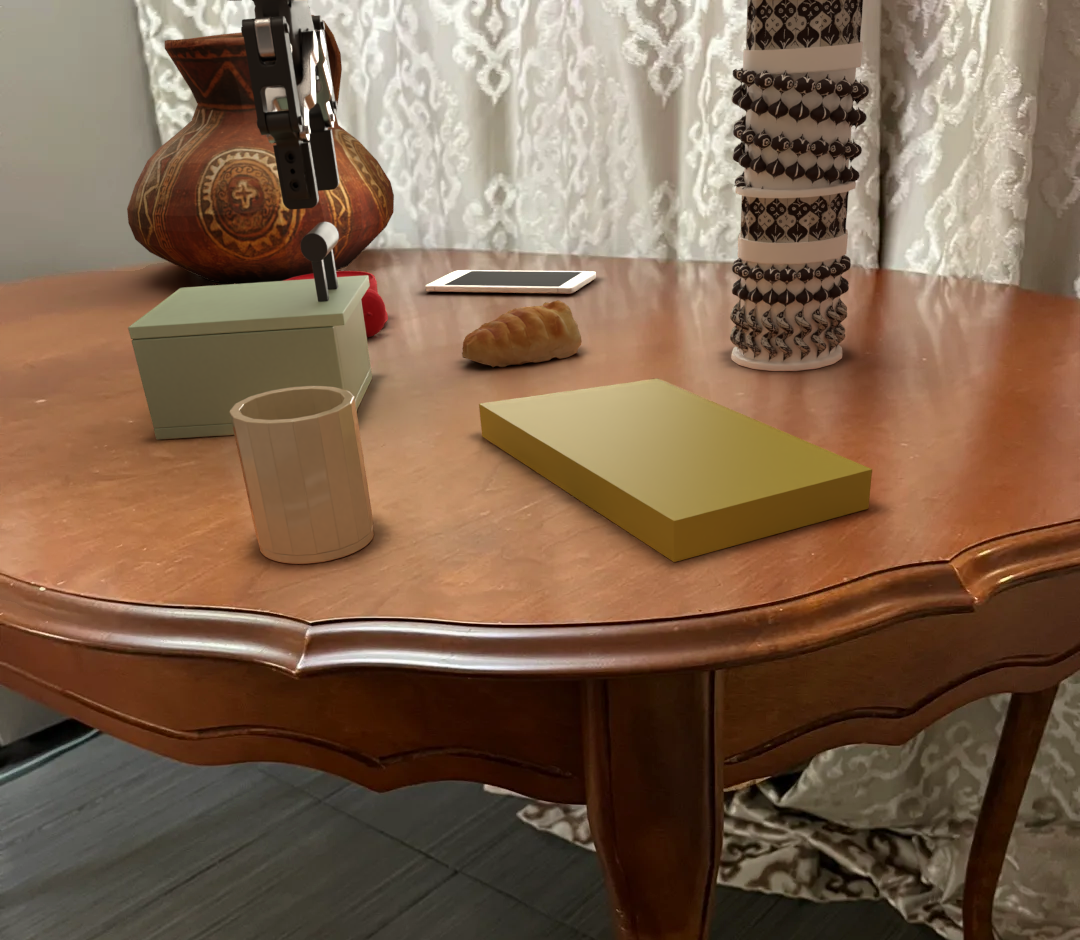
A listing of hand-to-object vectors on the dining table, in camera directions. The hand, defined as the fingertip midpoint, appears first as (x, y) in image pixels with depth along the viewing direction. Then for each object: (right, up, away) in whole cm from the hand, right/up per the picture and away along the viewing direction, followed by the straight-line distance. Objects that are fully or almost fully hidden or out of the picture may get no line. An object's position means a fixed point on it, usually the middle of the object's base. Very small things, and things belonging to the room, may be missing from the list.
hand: (313, 198), depth 75 cm
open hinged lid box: (-5, -12, +8) cm, 15 cm away
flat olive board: (+22, -20, -9) cm, 31 cm away
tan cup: (+3, -25, -15) cm, 30 cm away
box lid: (-5, -6, +4) cm, 9 cm away
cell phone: (+12, +9, +39) cm, 42 cm away
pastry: (+14, -6, +15) cm, 22 cm away
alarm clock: (-4, 0, +27) cm, 27 cm away
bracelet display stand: (+34, -7, +10) cm, 37 cm away
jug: (-17, +18, +56) cm, 61 cm away
